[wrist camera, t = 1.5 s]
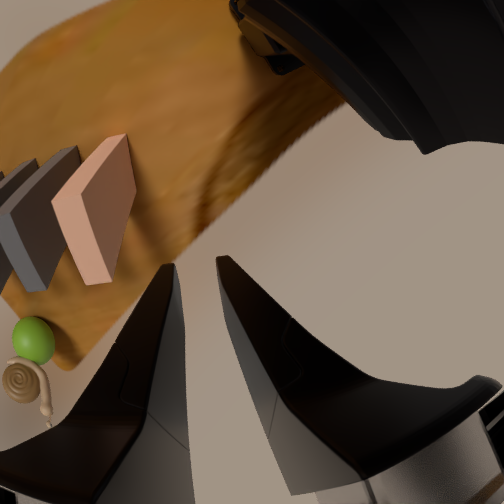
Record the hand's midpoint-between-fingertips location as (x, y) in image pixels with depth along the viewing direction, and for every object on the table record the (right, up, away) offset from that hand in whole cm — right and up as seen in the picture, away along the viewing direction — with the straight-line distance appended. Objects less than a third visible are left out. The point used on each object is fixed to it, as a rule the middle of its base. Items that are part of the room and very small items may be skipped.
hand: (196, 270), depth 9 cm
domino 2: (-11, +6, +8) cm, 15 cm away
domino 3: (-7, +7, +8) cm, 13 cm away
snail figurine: (-22, -7, +16) cm, 28 cm away
